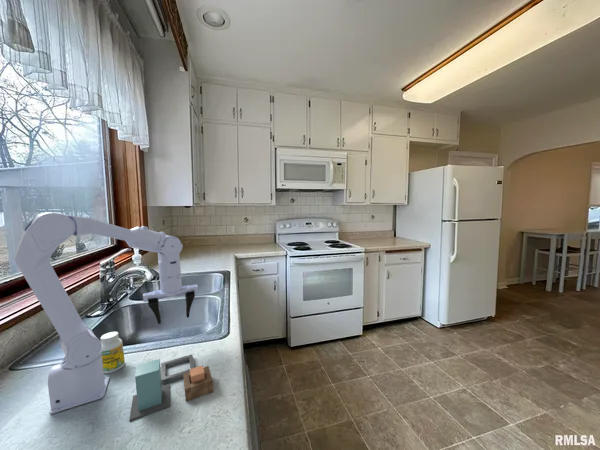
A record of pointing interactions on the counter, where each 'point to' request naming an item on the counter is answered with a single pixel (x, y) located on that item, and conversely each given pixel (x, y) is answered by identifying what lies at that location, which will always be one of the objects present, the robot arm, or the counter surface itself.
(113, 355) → the supplement bottle
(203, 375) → the orange block
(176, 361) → the holder collar
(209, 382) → the housing
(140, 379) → the pale teal upright block
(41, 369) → the counter surface
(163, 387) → the rubber mat
